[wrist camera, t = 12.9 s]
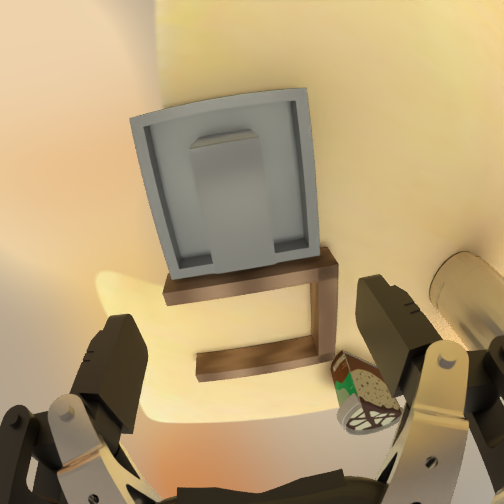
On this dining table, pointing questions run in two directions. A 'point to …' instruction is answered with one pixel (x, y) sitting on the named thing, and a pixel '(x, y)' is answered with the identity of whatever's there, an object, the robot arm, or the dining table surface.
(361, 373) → the food container
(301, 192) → the charcoal tray
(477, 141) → the dining table surface
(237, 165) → the grey rectangular prism
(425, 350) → the robot arm
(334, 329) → the walnut bay
